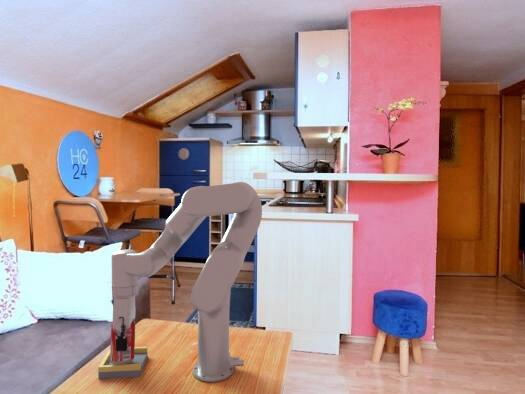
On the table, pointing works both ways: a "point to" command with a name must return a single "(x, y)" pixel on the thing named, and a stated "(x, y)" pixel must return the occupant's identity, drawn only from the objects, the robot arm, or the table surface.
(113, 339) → the soda can
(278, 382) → the table surface
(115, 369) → the tray
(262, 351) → the table surface
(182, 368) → the table surface
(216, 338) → the robot arm
